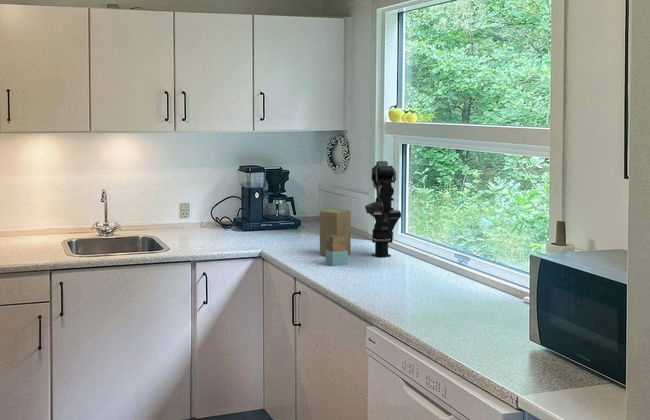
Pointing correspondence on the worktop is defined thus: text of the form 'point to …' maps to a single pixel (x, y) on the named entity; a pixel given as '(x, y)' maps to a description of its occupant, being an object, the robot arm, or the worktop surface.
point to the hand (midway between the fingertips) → (384, 232)
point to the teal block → (336, 258)
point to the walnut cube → (336, 243)
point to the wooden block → (335, 227)
